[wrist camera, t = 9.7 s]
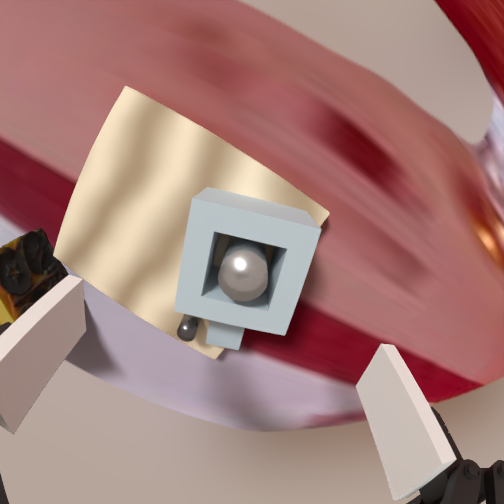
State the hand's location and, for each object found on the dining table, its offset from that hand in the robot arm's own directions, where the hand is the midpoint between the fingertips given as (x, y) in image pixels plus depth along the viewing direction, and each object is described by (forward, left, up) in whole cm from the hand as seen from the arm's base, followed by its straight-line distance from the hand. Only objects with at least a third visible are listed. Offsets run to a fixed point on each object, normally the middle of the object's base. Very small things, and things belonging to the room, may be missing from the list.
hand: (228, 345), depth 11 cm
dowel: (0, -8, -13) cm, 15 cm away
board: (-6, -3, -15) cm, 16 cm away
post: (0, 0, -13) cm, 13 cm away
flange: (+1, -2, -13) cm, 13 cm away
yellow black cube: (-18, -18, -15) cm, 29 cm away
